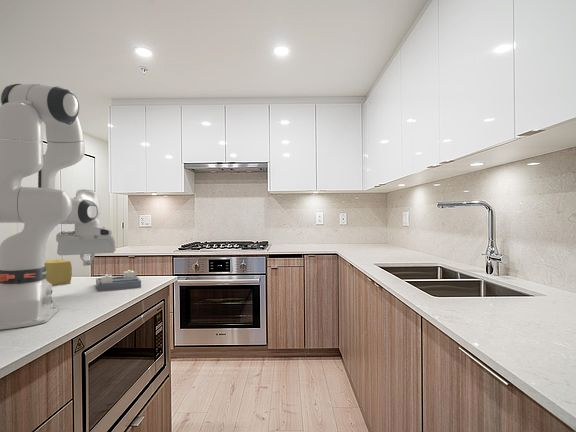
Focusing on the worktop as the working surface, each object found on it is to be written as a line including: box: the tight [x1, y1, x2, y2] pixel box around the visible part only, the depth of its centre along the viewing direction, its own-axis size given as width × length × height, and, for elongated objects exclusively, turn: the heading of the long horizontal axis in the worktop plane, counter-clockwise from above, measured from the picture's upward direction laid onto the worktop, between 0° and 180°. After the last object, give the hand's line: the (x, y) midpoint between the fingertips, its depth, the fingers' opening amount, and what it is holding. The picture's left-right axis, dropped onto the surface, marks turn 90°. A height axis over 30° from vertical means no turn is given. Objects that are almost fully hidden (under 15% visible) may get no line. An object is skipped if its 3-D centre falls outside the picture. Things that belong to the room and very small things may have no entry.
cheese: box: [45, 258, 73, 286], centre depth 153 cm, size 10×11×10 cm
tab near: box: [100, 273, 114, 284], centre depth 143 cm, size 3×4×4 cm
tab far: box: [123, 269, 136, 278], centre depth 155 cm, size 3×4×4 cm
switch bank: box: [95, 274, 142, 292], centre depth 149 cm, size 14×16×3 cm
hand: (87, 265), depth 140 cm, fingers closed
